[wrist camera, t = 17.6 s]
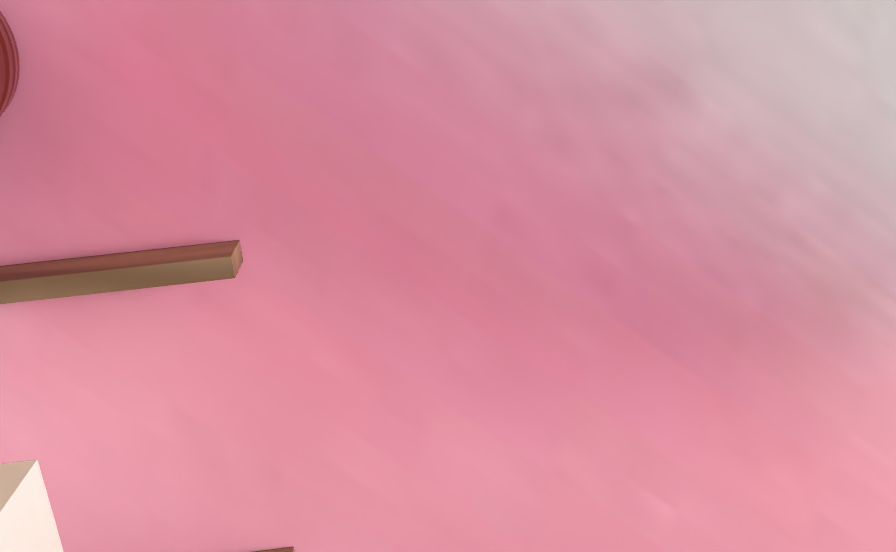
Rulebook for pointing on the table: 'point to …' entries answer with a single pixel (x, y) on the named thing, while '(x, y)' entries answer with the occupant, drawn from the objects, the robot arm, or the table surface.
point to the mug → (7, 64)
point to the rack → (121, 275)
